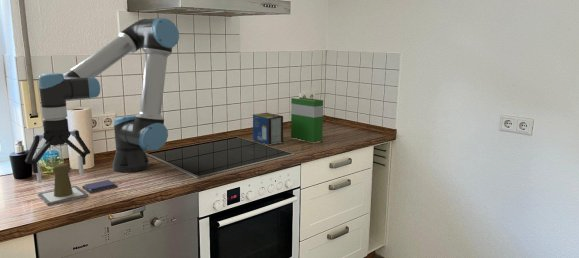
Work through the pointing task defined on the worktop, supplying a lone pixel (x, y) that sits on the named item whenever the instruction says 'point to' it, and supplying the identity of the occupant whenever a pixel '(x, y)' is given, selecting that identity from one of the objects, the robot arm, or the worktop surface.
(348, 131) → the worktop surface
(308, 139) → the green canister
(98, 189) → the pad
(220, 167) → the worktop surface
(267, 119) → the protein box
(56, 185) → the olive tapered cylinder
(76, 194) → the marked mat
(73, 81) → the robot arm
